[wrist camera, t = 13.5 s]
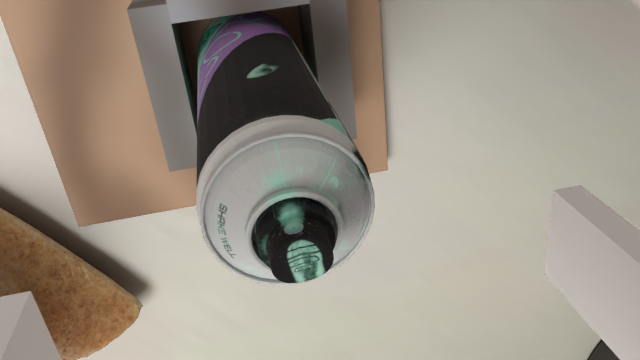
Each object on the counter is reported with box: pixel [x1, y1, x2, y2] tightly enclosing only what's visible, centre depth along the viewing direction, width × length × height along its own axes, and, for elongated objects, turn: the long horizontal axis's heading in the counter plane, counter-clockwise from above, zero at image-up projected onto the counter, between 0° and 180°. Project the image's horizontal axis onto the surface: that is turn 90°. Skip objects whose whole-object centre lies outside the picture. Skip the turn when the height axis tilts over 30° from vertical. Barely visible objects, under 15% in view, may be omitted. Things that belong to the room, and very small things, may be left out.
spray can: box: [196, 11, 375, 285], centre depth 23 cm, size 6×6×20 cm
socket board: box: [0, 0, 388, 227], centre depth 31 cm, size 20×16×6 cm
